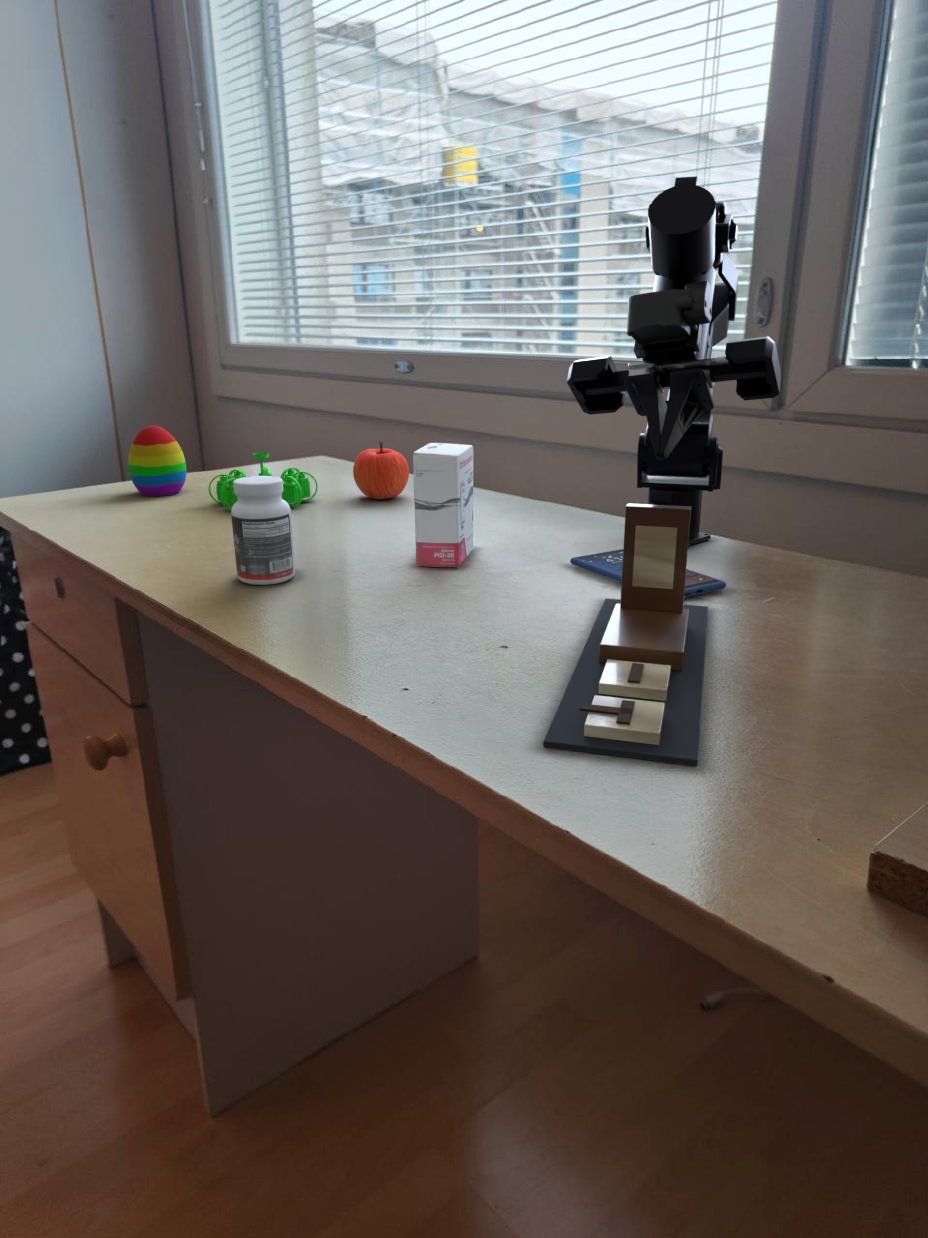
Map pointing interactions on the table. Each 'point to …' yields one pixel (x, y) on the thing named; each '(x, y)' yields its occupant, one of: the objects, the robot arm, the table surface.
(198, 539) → the table surface
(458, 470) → the ink box
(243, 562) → the pill bottle
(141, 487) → the decorative egg
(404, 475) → the apple
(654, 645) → the brown picture frame
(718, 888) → the table surface
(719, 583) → the smartphone
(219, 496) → the chandelier
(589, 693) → the word mat
